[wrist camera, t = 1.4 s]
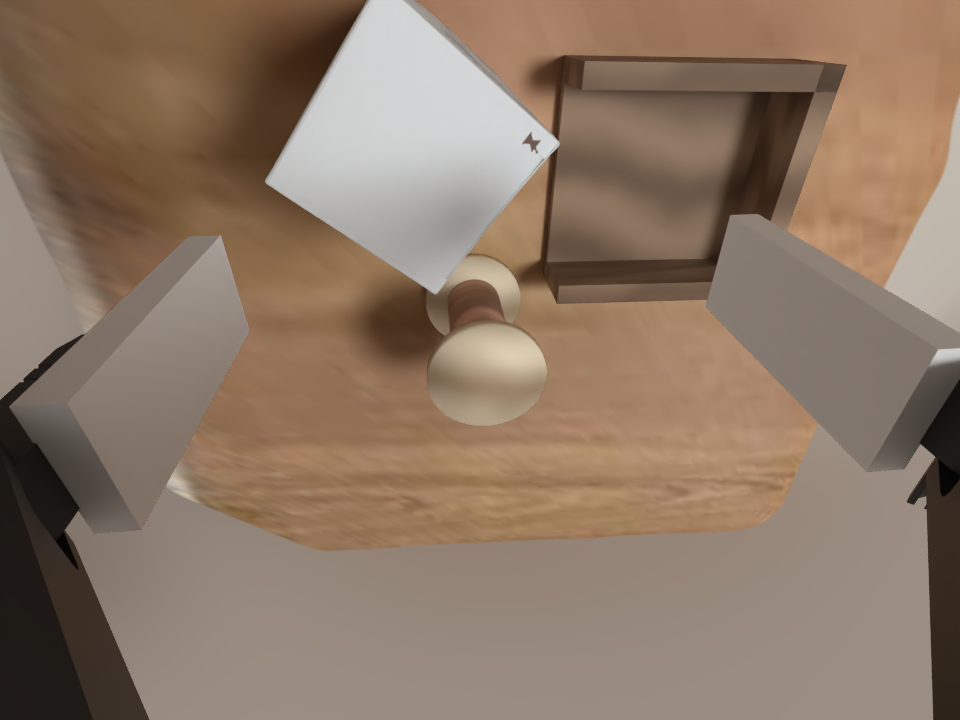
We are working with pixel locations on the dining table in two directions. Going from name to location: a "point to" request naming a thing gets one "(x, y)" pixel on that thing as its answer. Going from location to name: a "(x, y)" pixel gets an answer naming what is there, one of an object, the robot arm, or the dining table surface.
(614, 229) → the open wooden tray
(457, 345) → the bobbin post
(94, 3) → the dining table surface
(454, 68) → the supplement box
